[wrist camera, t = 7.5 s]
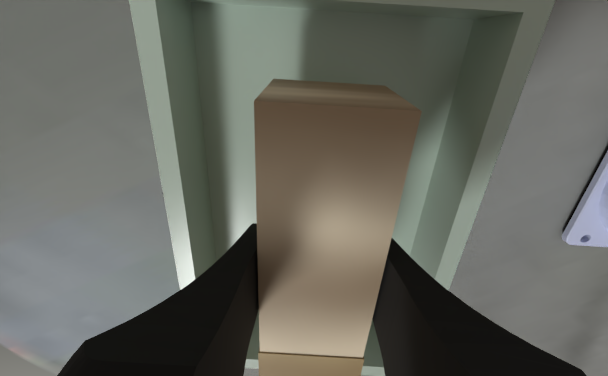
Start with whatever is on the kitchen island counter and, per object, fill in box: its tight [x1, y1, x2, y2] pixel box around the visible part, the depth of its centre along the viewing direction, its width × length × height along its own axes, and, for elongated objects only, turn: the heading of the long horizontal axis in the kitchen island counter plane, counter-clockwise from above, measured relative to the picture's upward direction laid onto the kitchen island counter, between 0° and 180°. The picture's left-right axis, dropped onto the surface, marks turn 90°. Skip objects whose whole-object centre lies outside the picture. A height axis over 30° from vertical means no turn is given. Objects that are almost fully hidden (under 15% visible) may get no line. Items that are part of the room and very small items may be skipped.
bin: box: [129, 0, 555, 376], centre depth 14 cm, size 13×19×4 cm
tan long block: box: [254, 79, 422, 376], centre depth 12 cm, size 12×4×4 cm, turn 177°
